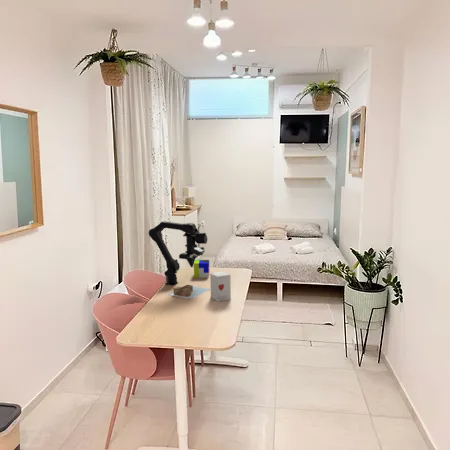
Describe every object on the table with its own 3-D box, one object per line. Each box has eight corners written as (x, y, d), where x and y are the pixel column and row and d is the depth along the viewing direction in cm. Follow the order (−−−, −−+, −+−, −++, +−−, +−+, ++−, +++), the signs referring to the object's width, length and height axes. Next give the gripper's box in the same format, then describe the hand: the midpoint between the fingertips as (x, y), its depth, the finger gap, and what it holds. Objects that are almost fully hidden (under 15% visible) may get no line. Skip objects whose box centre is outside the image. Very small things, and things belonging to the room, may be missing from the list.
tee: (173, 294, 260) (173, 288, 260) (183, 290, 269) (183, 284, 268) (186, 297, 255) (186, 290, 254) (196, 292, 263) (196, 286, 263)
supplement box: (217, 302, 246) (216, 276, 243) (210, 297, 253) (209, 273, 251) (231, 299, 250) (230, 274, 247) (224, 295, 258) (223, 270, 255)
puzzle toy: (208, 277, 297) (208, 263, 296) (194, 277, 297) (193, 263, 296) (209, 273, 307) (209, 259, 306) (195, 273, 307) (195, 260, 306)
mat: (165, 294, 261) (165, 294, 261) (187, 285, 279) (187, 285, 279) (189, 299, 251) (189, 299, 251) (211, 289, 270) (211, 289, 269)
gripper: (192, 246, 263) (193, 271, 266) (209, 241, 279) (210, 265, 281) (178, 245, 269) (178, 269, 272) (195, 240, 285) (196, 263, 287)
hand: (191, 267), depth 278 cm, fingers closed
